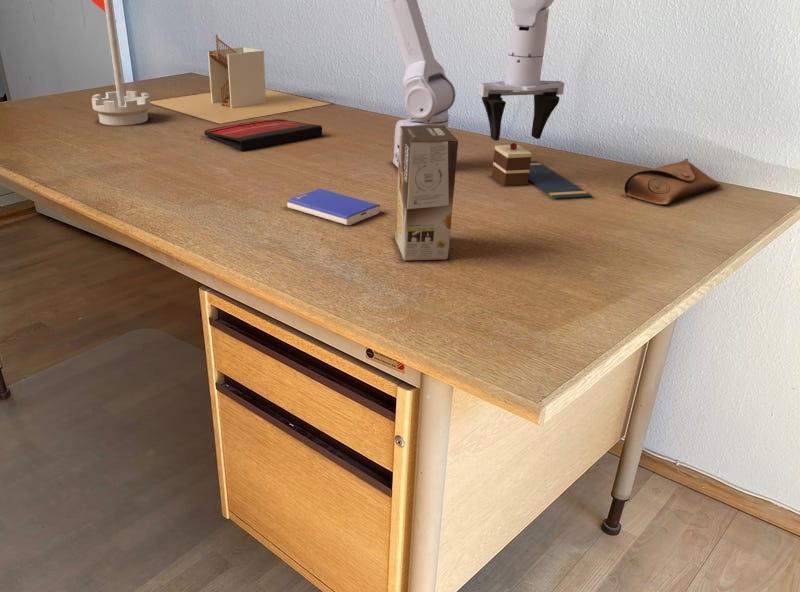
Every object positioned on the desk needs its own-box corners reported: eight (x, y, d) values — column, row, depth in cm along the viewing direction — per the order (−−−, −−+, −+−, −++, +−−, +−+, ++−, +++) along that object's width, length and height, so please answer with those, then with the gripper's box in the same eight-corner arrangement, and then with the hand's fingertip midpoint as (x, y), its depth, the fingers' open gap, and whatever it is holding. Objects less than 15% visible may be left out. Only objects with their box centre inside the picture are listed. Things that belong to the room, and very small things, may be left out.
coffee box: (449, 260, 100) (460, 140, 92) (403, 261, 100) (409, 141, 92) (436, 236, 108) (445, 123, 100) (392, 237, 108) (398, 124, 100)
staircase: (211, 103, 191) (205, 33, 182) (245, 97, 197) (242, 29, 189) (231, 108, 185) (226, 36, 177) (265, 102, 192) (263, 33, 183)
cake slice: (504, 186, 130) (508, 147, 127) (491, 176, 135) (495, 139, 132) (527, 184, 131) (532, 146, 127) (514, 175, 136) (518, 138, 133)
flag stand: (164, 118, 175) (148, -25, 160) (122, 129, 165) (102, -23, 150) (124, 111, 181) (106, -27, 166) (82, 121, 171) (59, -25, 156)
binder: (322, 124, 159) (240, 139, 148) (322, 135, 161) (241, 151, 149) (278, 115, 170) (199, 128, 159) (279, 125, 172) (200, 139, 160)
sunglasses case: (668, 204, 120) (657, 164, 120) (630, 216, 126) (620, 178, 125) (724, 185, 130) (713, 148, 129) (686, 196, 136) (676, 161, 135)
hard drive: (287, 199, 118) (347, 216, 111) (321, 187, 123) (380, 203, 116) (287, 208, 119) (346, 226, 112) (321, 196, 124) (379, 213, 117)
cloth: (555, 199, 124) (555, 197, 124) (504, 164, 142) (505, 162, 142) (591, 197, 125) (591, 195, 125) (536, 162, 144) (536, 160, 143)
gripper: (493, 59, 118) (484, 145, 125) (577, 57, 120) (564, 142, 127) (477, 53, 124) (469, 135, 131) (558, 51, 126) (546, 132, 133)
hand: (515, 138), depth 129 cm, fingers open, 7 cm apart
